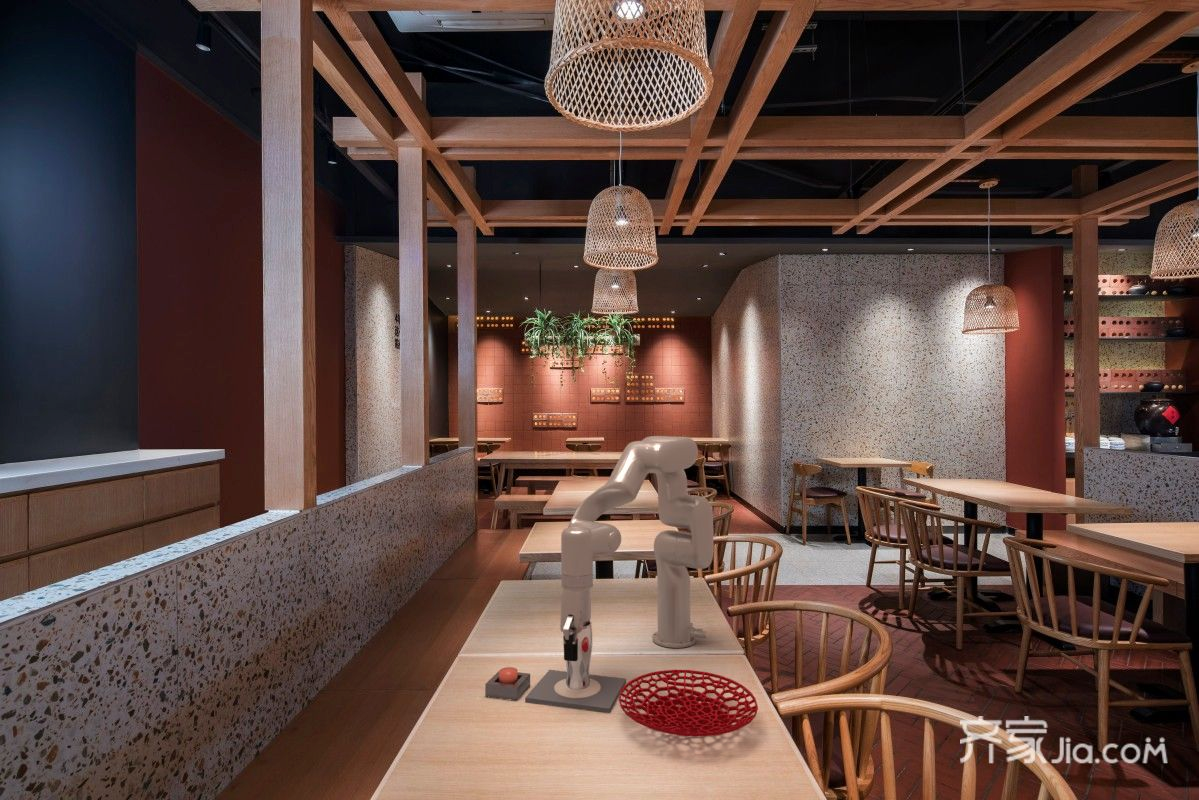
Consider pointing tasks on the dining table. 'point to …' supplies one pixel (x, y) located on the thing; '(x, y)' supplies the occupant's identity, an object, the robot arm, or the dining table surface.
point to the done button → (508, 675)
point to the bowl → (688, 705)
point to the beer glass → (580, 662)
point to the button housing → (507, 687)
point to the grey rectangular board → (592, 699)
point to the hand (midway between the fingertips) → (577, 652)
